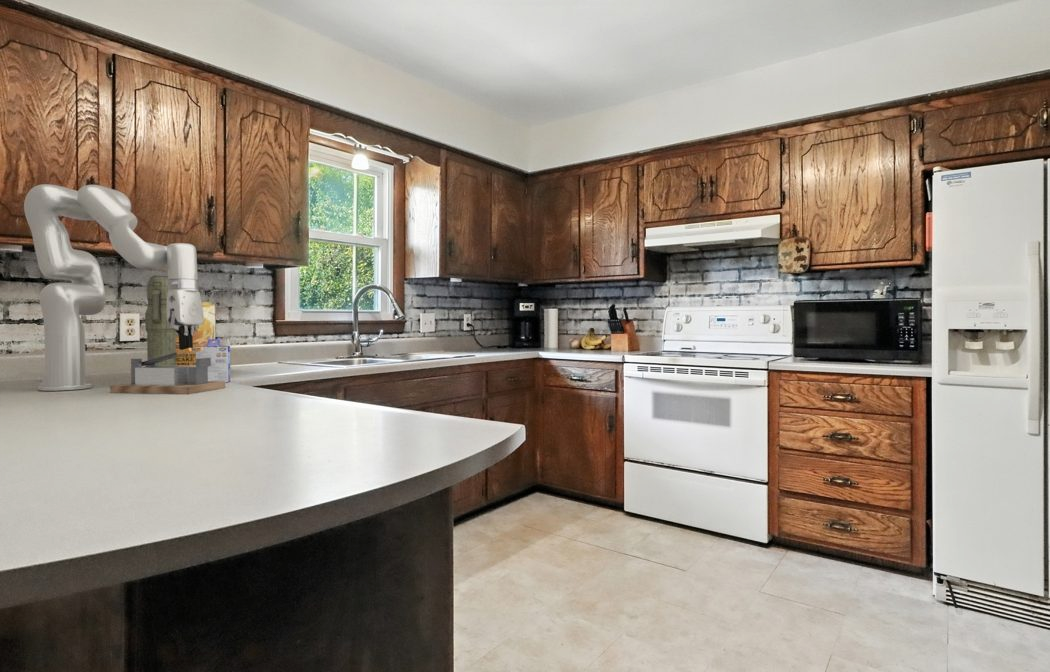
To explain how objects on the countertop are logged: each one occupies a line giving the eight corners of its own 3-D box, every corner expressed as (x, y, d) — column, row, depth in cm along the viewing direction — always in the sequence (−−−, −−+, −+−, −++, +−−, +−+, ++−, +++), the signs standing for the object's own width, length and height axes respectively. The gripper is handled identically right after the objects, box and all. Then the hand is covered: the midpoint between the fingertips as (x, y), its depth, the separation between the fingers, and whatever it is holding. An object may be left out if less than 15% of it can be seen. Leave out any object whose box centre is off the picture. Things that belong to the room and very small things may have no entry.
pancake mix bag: (154, 380, 204) (154, 299, 204) (216, 377, 213) (216, 300, 213) (153, 381, 198) (152, 298, 198) (217, 379, 208) (216, 299, 207)
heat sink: (135, 385, 167) (135, 367, 167) (166, 381, 179) (165, 364, 178) (174, 385, 165) (173, 368, 165) (202, 381, 177) (202, 365, 177)
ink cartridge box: (231, 381, 200) (230, 338, 200) (229, 382, 195) (228, 339, 195) (198, 382, 197) (198, 339, 197) (195, 383, 192) (195, 339, 192)
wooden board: (110, 392, 165) (110, 385, 165) (153, 386, 181) (152, 380, 181) (188, 394, 162) (188, 386, 162) (225, 388, 178) (225, 381, 178)
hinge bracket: (131, 384, 169) (131, 358, 169) (150, 381, 177) (150, 357, 176) (138, 384, 169) (138, 358, 169) (158, 382, 176) (157, 357, 176)
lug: (188, 384, 168) (188, 358, 168) (200, 383, 173) (200, 357, 173) (199, 384, 168) (199, 358, 168) (210, 383, 173) (210, 357, 173)
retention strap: (134, 367, 170) (133, 363, 170) (149, 365, 176) (149, 362, 176) (189, 351, 168) (188, 347, 168) (203, 350, 174) (202, 346, 174)
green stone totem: (142, 385, 185) (141, 274, 184) (149, 382, 196) (148, 277, 195) (174, 384, 188) (173, 275, 188) (180, 381, 199) (179, 278, 198)
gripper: (176, 284, 163) (179, 350, 163) (211, 287, 178) (214, 348, 178) (152, 285, 164) (155, 351, 164) (189, 288, 179) (191, 349, 179)
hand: (186, 349), depth 171 cm, fingers closed
